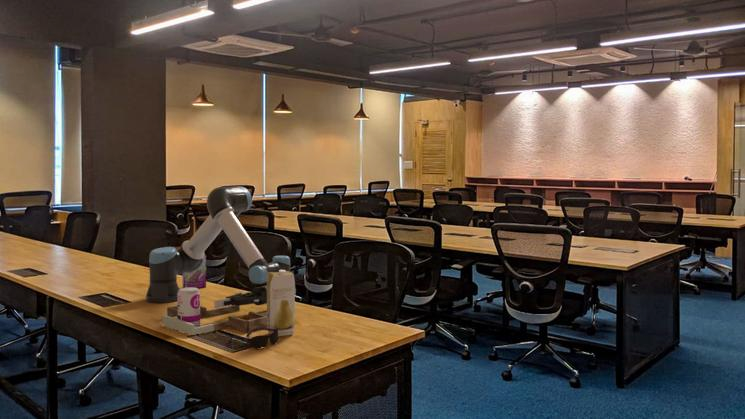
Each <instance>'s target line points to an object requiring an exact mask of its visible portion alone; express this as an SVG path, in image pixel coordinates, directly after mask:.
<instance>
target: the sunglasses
mask: <svg viewBox="0 0 745 419" xmlns="http://www.w3.org/2000/svg"><path fill="white" fill-rule="evenodd" d="M259 330H261V331H267V332H268V331H272V332H273V333H272V334H270V333H269V334H267V335H265V334H262V335H261V334H260V335H255V336H252V337H251V338H247V337H250V336H251V335H252V333H253V332H255V331H259ZM232 339H237V340H240V341H245V342H248V343H250V346H251V347H252V348H253V349H254V348H261V347H265V348H266V347H267V346H268V343H269V342H270V344H272V345H274V344H275V343H276V342H277V343H278V340H279V336H278V329H270V328H255V329H253V330H252V331H250V332H247V334H246V337H241V336H237V335H231V336H230V338H229V342H230V341H231V342H232ZM277 343H276V344H277ZM276 344H275V345H276Z"/></svg>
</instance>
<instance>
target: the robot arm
mask: <svg viewBox="0 0 745 419" xmlns="http://www.w3.org/2000/svg"><path fill="white" fill-rule="evenodd" d="M252 203H253V202H252V195H251V193H250V191H249V190H248V189H247V188H246V187H244V186H239V185H236V186H234V185H233V186H218V187H215V188H213V189H212V190H211V191H210V192H209V194H208V196H207V199H206V208H207V212H208V213H209V215H208V216H207V218H206V219H205V220H204V221H203V223H202V224H201V225H200V226H199V227H198V229H197V230H196V231H195V233H194V234H193V235H192V236H191V238H190V239H188V240H185V241H183V242H182V244H181V245H180V246H179V247H178V248H176V247H174V246H163V247H159V248H154V249H152V250H151V251H150V253H149V259H148V262H149V264H148V265H149V268H148V269H149V285H148V288H147V291H146V293H145V301H146V302H148V303H152V304H153V303H156V304H163V303H164V304H165V303H172V302H177V293H178V291H179V289H180V288H179V285H178V280H177V278H178V276H177V275H179V274H182V273H185V272H192V271H194V270H197V269H199V268H200V267H201V266H202V264H203V262H204V260H203V258H204V255H206V253H205V251H206V250H207V249H208V247H209V246H210V245H211V244H212V243H213V242H214V241H215V239H216V238H217V236H218V235H219V234H220V233H221V231H223V232H224V233H225V235H226V236H227V238H228V239H229V241H230V242H231V244H232V245H233V247H234V249H235V250H236V251H237V253H238V255H239V256H240V258H241V259H242V261H243V262H244V264H245V265H246V266H247V268H248V269H249V270H248V279H249V280H250V282H251V283H252V284H256V285H259V284H265V283H267V278H268V273H269V272H279V270H286V271H289V272H291V267H292V266H291V258H290V256H288V255H275V256H273V257H272V262H267V260H266V259H265V258H264V256H263V255H262V253H261V252H260V250H259V249H258V247H257V246H256V244H255V243H254V241H253V240H252V238H251V237H250V236H249V234H248V232H247V231H246V229H245V228H244V226H243V225H242V223H241V222H240V220H239V219H238V217H239V215H240V214H241V213H245V212H247V211H249V210H250V208H251V206H252ZM296 292H297V288H296V287H295V295H296ZM213 302H214V304H213V306H214V309H217V308H222V307H227V306H232V305H235V306H239V305H240V306H247V305H255V306H263V305H267V285H262V286H258V287H254V288H252V291H251V292H250V291H249V292H246V293H242V292H238V293H235V294H232V295H228V296H226V297H225V298H221V299H216V300H213Z"/></svg>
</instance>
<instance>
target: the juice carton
mask: <svg viewBox="0 0 745 419" xmlns="http://www.w3.org/2000/svg"><path fill="white" fill-rule="evenodd" d="M295 281H296V280H295V275H294V273H293V272H291V271H290V272H289V271H286V270H279V272H269V273H268V278H267V282H266V286H267V304H266V312H267V328H270V329H278V337H284V336H285V335H286V336H292V334H293V335H294V330H295V323H296V322H295V319H296V318H295V316H296V315H295V314H296V313H295V312H296V310H295V309H296V308H295V306H296V303H295V302H296V299H295V298H296V297H295V296H296V294H295V288H296V282H295ZM267 332H268V334H269V335H270V334H272V333H273V332H272V331H267Z"/></svg>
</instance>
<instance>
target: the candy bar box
mask: <svg viewBox="0 0 745 419" xmlns="http://www.w3.org/2000/svg"><path fill="white" fill-rule="evenodd" d="M203 260H204V262H203V264H202V266H201V267H200V268H199V269H197V270H194V271H192V272H185V273H181V274H182V282H181V284H182V287H181V288H185V287H196V288H198V289H205V288H207V255H206V254H205V255H204V258H203Z"/></svg>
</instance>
